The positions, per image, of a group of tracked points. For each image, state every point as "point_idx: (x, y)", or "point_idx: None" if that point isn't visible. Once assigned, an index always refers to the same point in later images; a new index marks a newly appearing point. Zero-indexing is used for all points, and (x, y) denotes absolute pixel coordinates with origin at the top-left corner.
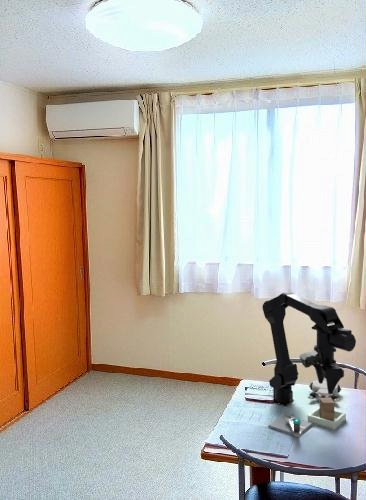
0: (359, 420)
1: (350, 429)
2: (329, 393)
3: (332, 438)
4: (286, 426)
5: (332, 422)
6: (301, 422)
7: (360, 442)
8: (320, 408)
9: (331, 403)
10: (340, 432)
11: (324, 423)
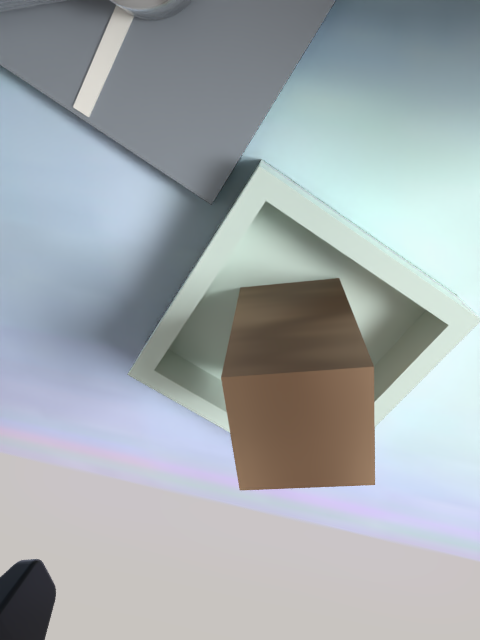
0: (311, 513)
1: (177, 440)
2: (21, 573)
3: (19, 310)
4: None
5: (136, 362)
6: (197, 88)
7: (19, 452)
8: (314, 318)
9: (234, 456)
10: (121, 376)
11: (175, 297)
